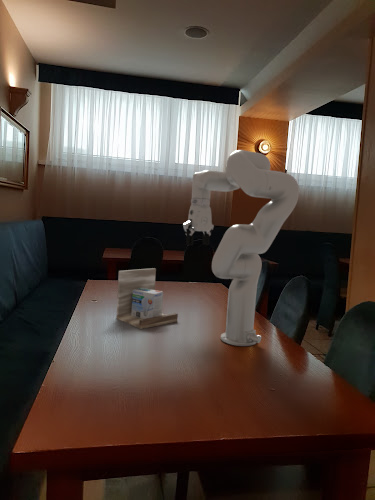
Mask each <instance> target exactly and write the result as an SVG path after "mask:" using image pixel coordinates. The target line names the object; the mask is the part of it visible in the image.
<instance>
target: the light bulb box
mask: <svg viewBox="0 0 375 500" xmlns="http://www.w3.org/2000/svg"><path fill="white" fill-rule="evenodd" d="M163 303H164V291H163V290H156V289H155V290H152V289H147V288H139V289H134V290H133V296H132V312H131V316H134V317H138V318H142V319H147V318H152V317H157V316H162V314H163Z"/></svg>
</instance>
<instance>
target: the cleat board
mask: <svg viewBox="0 0 375 500" xmlns="http://www.w3.org/2000/svg"><path fill="white" fill-rule="evenodd" d="M156 272H157V268H155V267H154V268H153V267H152V268H141V269H140V268H139V269H128V270H127V269H126V270H118V279H117V296H116V297H117V298H116V300H117V301H116V320H119V321H122V322H124V323H126V324H129V325H132V326H134V327H136V328H139V329H140V330H143V329H147V328H151V327H152V328H153V327H156V326H157V327H158V326H161V325H165V324H166V325H167V324H171V323H177V322H178V317H179V316H178V313H176V312H174V313H167V314H166V313H165V314H164V313H162V316H157V317H152V318H147V319H142V318H138V317H134V316H131V312H132V296H133V290H134V289H139V288H147V289H152V290H156V289H155V288H156V275H157V273H156Z"/></svg>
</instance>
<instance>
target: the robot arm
mask: <svg viewBox="0 0 375 500" xmlns="http://www.w3.org/2000/svg"><path fill="white" fill-rule="evenodd" d="M239 189H241V190H242V191H243V192H244V193H245V194H246V195H247V196H249V197H251V198H252V197H253V198H262V199H271V200H270V201H269V202H267V203H265V205H263V206H262V207H261V208H260V209H259V211H258V212H257V214H256V216H255V218H254V219H253V221H252V222H251V223H249V224H245V223H243V224H240V223H239V224H233V225H232V226H230V227H229V228H228V229H227V230H226V231H225V233H224V234H223V237H222V239H221V241H220V242H219V244H218V247H217V248H216V250H215V253H214V255H213V257H212V259H211V260H212V261H211V271H212V273H213V274H214V276H215V277H216V278H219V279H221V280H223V279H224V280H229V279H230V280H231V283H230V285H229V288H228V293H227V294H228V295H227V307H226V308H227V309H226V320H225V322H226V323H225V332H223V333H221V334H220V341H222V342H223V343H226V344H228V345H230V346H231V345H232V346H237V347H250V346H253V345H256V344H260V343H261V341H262V338H263V337H262V335H259V334H257V330H256V329H254V326H255V315H256V314H255V312H256V300H257V292H258V291H257V289H258V284H259V280H260V275H261V272H262V267H263V266H262V263H263V262H262V257H260V255H261V254H265V253H266V252H267V251H268V250H269V248H270V247H271V245H272V244H273V242H274V240H275V239H276V236H277V235H278V233H279V232H280V230H281V228H282V226H284V225H283V224H284V223H285V222H286V220H287V219H288V218H289V216H290V215H291V214H292V212H293V211H294V209H295V207H296V206H297V203H298V200H299V195H300V188H299V183H298V181H297V179H296V178H295V177H294V176H292V175H291V174H289V173H286V172H283V171H279V170H278V171H277V170H271V162H270V159H269V158H268V157H267V155H265V154H263V153H259V152H257V151H256V152H255V151H251V150H244V149H238V150H234V151H233V152H231V154H229V156H228V158H227V160H226V166H225V171H219V170H218V171H217V170H208V169H204V170H202V171H197V172H194V174H192V189H191V199H190V203H191V204H190V207H189V211H188V217H187V221H186V222H183V224H182V226H183V231H184V233H185V235H186V240H185V244H186V246H191V247H192V246H193V245H194V235H193V234H194V233H195V232H202V233H203V235H202V245H204V246H210V237H211V235H212V233H213V230H214V227H215V225H214V224H213V222H212V217H213V216H212V208H211V207H210V205H211V204H210V202H211V192H212V191H215V192H224V193H226V192H228V193H229V192H232V191H236V190H239Z"/></svg>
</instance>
